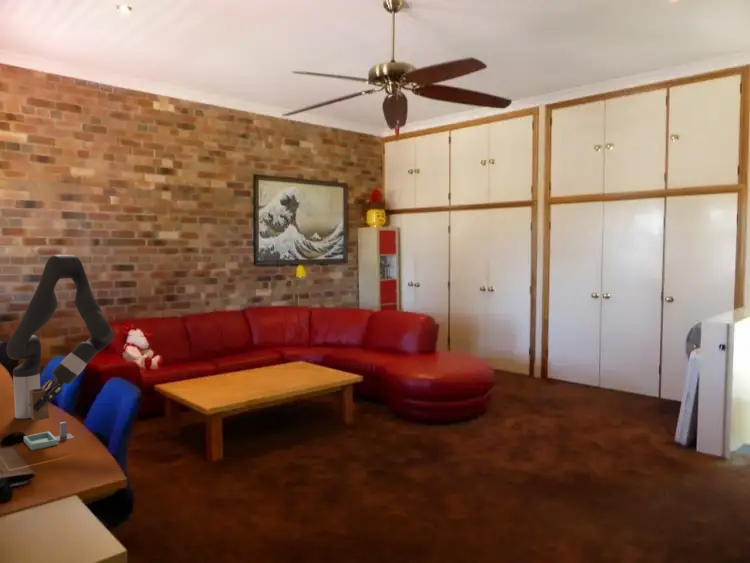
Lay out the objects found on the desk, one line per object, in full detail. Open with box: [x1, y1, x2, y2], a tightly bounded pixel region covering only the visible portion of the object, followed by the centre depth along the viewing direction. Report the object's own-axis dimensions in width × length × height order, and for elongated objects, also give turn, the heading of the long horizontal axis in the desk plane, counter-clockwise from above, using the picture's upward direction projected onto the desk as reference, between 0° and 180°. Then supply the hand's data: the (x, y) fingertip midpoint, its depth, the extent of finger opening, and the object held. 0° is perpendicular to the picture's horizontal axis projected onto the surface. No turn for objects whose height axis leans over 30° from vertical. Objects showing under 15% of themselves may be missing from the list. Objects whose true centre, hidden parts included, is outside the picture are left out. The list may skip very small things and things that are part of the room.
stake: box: [54, 421, 75, 442], centre depth 202 cm, size 6×6×6 cm
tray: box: [23, 430, 59, 451], centre depth 196 cm, size 12×8×2 cm
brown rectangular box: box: [29, 387, 50, 422], centre depth 195 cm, size 5×5×10 cm
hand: (33, 408), depth 194 cm, fingers closed on brown rectangular box, 4 cm apart
